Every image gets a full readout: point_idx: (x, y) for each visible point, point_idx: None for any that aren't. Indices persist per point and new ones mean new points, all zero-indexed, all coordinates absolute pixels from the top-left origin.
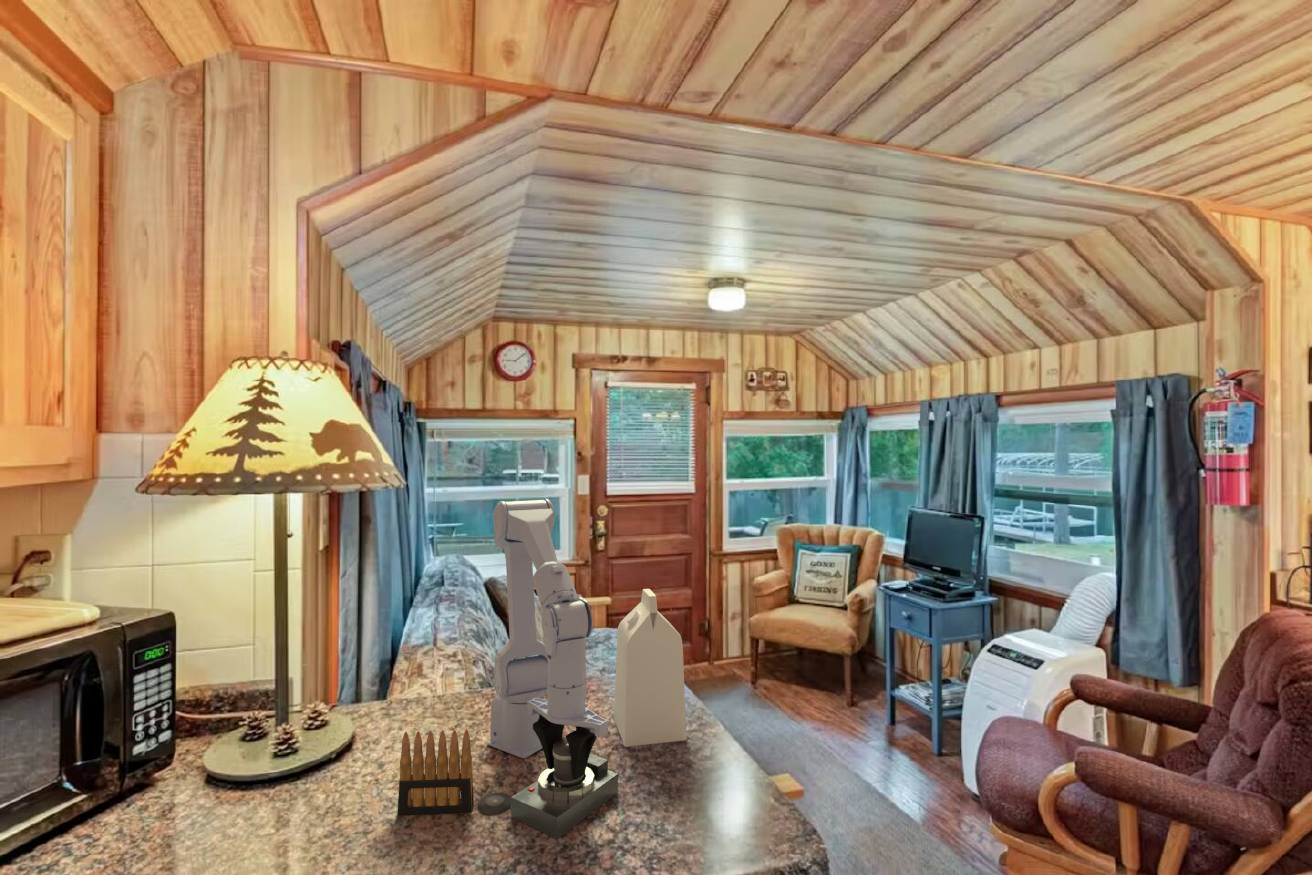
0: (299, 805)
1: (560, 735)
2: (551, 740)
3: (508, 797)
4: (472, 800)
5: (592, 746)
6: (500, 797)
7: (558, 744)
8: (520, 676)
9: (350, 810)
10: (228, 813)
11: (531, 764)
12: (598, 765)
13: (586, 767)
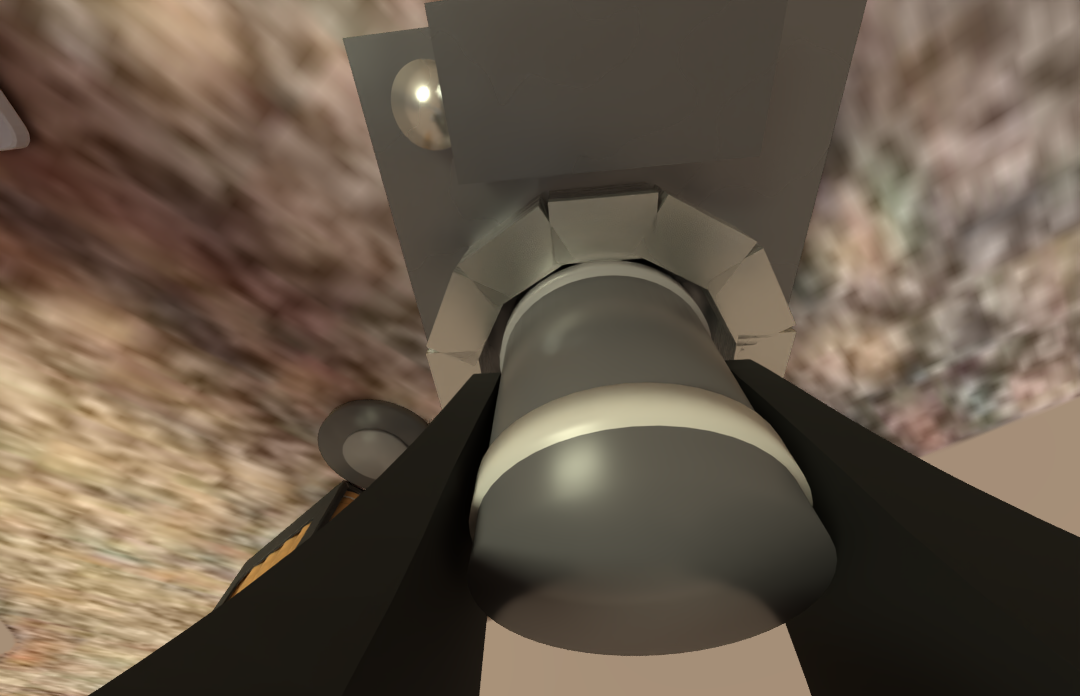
0: (121, 630)
1: (430, 563)
2: (465, 649)
3: (384, 415)
4: (336, 496)
5: (1036, 525)
6: (371, 438)
7: (559, 618)
8: None
9: (193, 604)
10: (102, 672)
11: (123, 147)
12: (750, 140)
13: (641, 206)
